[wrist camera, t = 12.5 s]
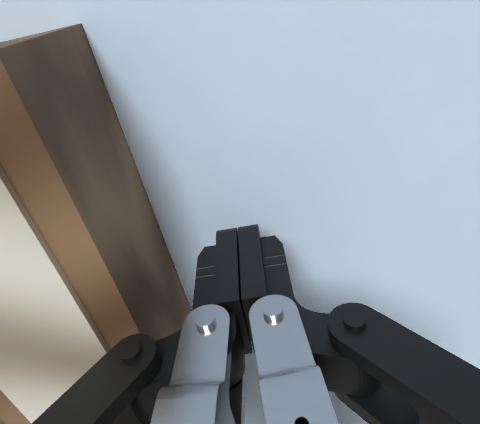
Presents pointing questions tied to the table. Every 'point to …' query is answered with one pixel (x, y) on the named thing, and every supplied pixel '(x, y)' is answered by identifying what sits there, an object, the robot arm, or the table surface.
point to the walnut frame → (70, 226)
